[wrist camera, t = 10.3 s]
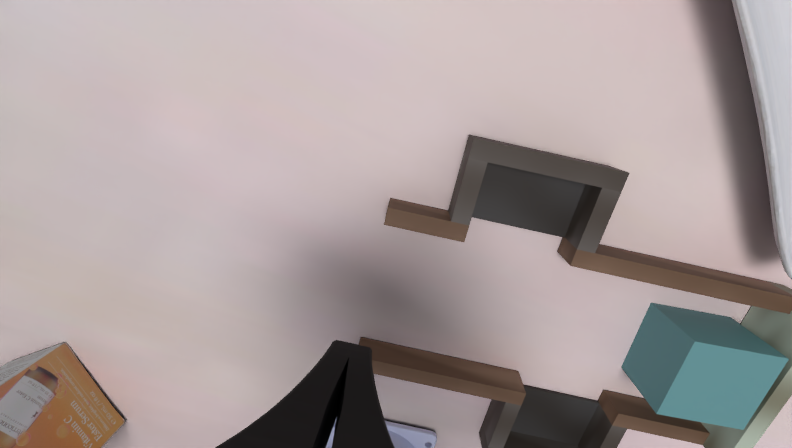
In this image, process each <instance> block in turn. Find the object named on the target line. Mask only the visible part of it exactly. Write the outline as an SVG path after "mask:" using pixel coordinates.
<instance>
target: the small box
mask: <svg viewBox="0 0 792 448" xmlns="http://www.w3.org/2000/svg"><path fill="white" fill-rule="evenodd" d="M124 423H125V421H124V419H123V418H122V417H121V416H120V415H119V413H118V412H117V411H116V410H115V409H114V407H113V406H112V405H111V404H110V402H109V401H108V400H107V398H106V397H105V396H104V394H103V393H102V392H101V390H100V389H99V388H98V386H97V385H96V384H95V382H94V381H93V379H92V378H91V377H90V375H89V374H88V373H87V371H86V370H85V369H84V367H83V366H82V364H81V363H80V362H79V360H78V359H77V357H76V356H75V354H74V352H73V351H72V349H71V348H70V347H69V345H68V344H67V343H61V344H58V345H55V346H52V347H50V348H47V349H44V350H41V351H38V352H35V353H33V354H30V355H27V356H24V357H21V358H18V359H16V360H13V361H10V362H8V363H6V364H5V365H3V366H2V367H0V448H102V447H103V446H104V445H105V444H106V442H107V441H108V440H109V439H110V438H111V437H112V436H113V435H114V434H115V433H116V432H117V431H118V430H119V429H120V428H121V426H122V425H123V424H124Z"/></svg>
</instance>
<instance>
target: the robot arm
mask: <svg viewBox="0 0 792 448" xmlns="http://www.w3.org/2000/svg"><path fill="white" fill-rule="evenodd" d="M335 422H336V423H335ZM436 441H437V435H436V433H435V432H433V431H430V430H426V429H421V428H416V427H412V426H407V425H402V424H398V423H393V422H389V421H385V420H384V417H383V414H382V410H381V407H380V403H379V399H378V395H377V390H376V386H375V381H374V375H373V367H372V350H371V348H370V347H366V346H361V345H357V344H352V343H348V342H343V341H338V340H336V341H334V342H332V344H331V346H330V347H329V349H328V350H327V352H326V353H325V354H324V356H323V357H322V358H321V359H320V361H319V362H318V363H317V364H316V365H315V367H314V368H313V369H312V370H311V371H310V372H309V373H308V374H307V376H306V377H305V378H304V379H303V380H302V381H301V382H300V383H299V384H298V385H297V386H296V387H295V388H294V389H293V390H292V391H291V392H290V393H289V394H288V395H286V396H285V397H284V398H283V399H282V400H281V401H280V402H279V403H277V404H276V405H275V406H274V407H273V408H271V409H270V410H269V411H268V412H267V413H265V414H264V415H263V416H261V417H260V418H259V419H257V420H256V421H255V422H253V423H252V424H251V425H249V426H248V427H247V428H245V429H244V430H242V431H241V432H239V433H238V434H236V435H235V436H233V437H231V438H230V439H228V440H227V441H225V442H224V443H222V444H220V445H219V446H217V447H216V448H434V447H435V444H436ZM427 442H430V443H427Z"/></svg>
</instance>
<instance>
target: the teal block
mask: <svg viewBox="0 0 792 448" xmlns="http://www.w3.org/2000/svg"><path fill="white" fill-rule="evenodd" d="M788 360H789V358H787V357H786V356H784V355H783V354H782V353H780V352H779V351H777V350H776V349H775V348H773V347H772V346H770V345H769V344H767V343H766V342H765V341H763V340H762V339H760V338H759V337H758V336H756V335H755V334H753V333H752V332H750V331H749V330H748V329H746V328H745V327H743V326H742V325H741V324H739V323H738V322H736V321H735V320H734V319H732V318H731V317H726V316H721V315H715V314H710V313H705V312H699V311H694V310H688V309H683V308H677V307H672V306H666V305H661V304H655V303H651V304H650V306H649V308H648V311H647V313H646V315H645V317H644V319H643V321H642V324H641V326H640V328H639V330H638V332H637V334H636V337H635V339H634V341H633V343H632V345H631V347H630V350H629V352H628V354H627V356H626V358H625V360H624V363H623V365H622V369H623V370H624V371H625V373H626V374H627V375H628V377H629V378H630V379H631V381H632V382H633V383H634V385H635V386H636V387H637V389H638V390H639V391H640V393H641V394H642V395H643V397H644V398H645V399H646V401H647V402H648V403H649V405H650V406H651V407H652V409H653V410H654V411H655V413H656V414H659V415H665V416H670V417H676V418H681V419H686V420H692V421H697V422H703V423H708V424H713V425H719V426H724V427H730V428H735V429H740V430H744V428H745V427H746V425H747V424H748V422H749V420H750V419H751V417H752V416H753V414H754V413H755V411H756V410H757V408H758V407H759V405H760V403H761V402H762V400H763V399H764V397H765V396H766V394H767V393H768V391H769V389H770V388H771V386H772V385H773V383H774V382H775V380H776V379H777V377H778V375H779V374H780V372H781V371H782V369H783V368H784V366H785V365H786V363H787V362H788Z"/></svg>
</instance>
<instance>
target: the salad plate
mask: <svg viewBox="0 0 792 448" xmlns="http://www.w3.org/2000/svg"><path fill="white" fill-rule="evenodd" d="M732 4H733V8H734V12H735V16H736V21H737V25H738V29H739V33H740V38H741V42H742V46H743V51H744V55H745V60H746V65H747V69H748V74H749V79H750V83H751V88H752V93H753V98H754V102H755V107H756V112H757V118H758V123H759V129H760V135H761V141H762V146H763V152H764V158H765V166H766V173H767V180H768V188H769V196H770V205H771V214H772V223H773V230H774V236H775V241H776V245H777V249H778V252H779V255H780V258H781V262H782V265H783V267H784V270H785V272H786V273H787V275H788V276H789V277H790V278H791V279H792V0H732Z"/></svg>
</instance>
